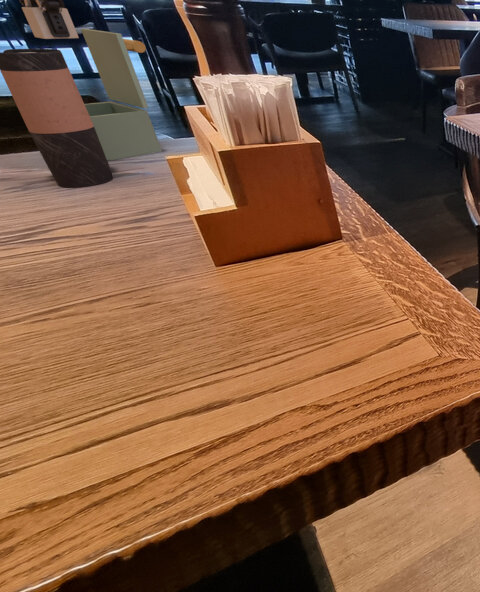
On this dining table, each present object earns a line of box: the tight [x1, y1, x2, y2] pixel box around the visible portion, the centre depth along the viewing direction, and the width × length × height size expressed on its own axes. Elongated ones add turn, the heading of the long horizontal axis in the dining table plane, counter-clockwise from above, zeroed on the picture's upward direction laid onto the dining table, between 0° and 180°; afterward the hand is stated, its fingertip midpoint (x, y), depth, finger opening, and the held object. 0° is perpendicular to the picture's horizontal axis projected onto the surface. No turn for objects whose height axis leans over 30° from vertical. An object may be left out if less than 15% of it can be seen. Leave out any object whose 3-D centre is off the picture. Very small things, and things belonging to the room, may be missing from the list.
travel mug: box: [0, 48, 114, 188], centre depth 83 cm, size 8×8×20 cm
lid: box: [80, 28, 149, 109], centre depth 99 cm, size 12×15×5 cm
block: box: [21, 6, 80, 40], centre depth 88 cm, size 4×4×4 cm
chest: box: [84, 100, 163, 161], centre depth 98 cm, size 12×15×9 cm
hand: (55, 35), depth 89 cm, fingers closed on block, 4 cm apart
